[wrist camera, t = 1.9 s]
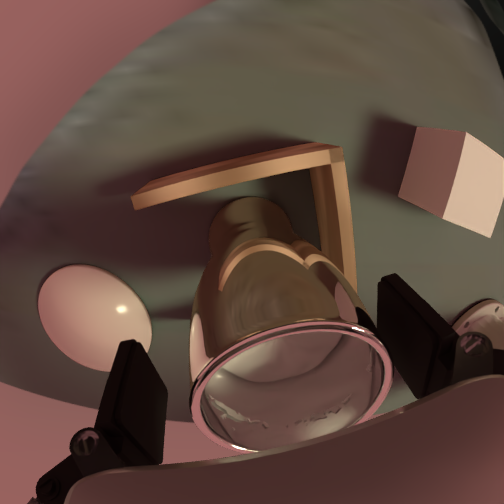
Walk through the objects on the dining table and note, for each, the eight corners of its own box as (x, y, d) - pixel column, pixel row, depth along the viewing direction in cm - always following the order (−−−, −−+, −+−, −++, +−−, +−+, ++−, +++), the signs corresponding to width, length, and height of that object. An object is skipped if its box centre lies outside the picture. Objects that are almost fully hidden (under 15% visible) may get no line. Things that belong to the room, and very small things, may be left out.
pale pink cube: (396, 196, 22) (441, 218, 17) (415, 126, 20) (465, 131, 15) (446, 214, 23) (490, 238, 18) (464, 152, 21) (512, 164, 16)
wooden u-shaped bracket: (315, 142, 20) (342, 147, 15) (335, 286, 25) (358, 321, 20) (150, 180, 20) (130, 196, 15) (196, 319, 25) (193, 360, 20)
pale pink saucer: (122, 249, 22) (120, 253, 21) (170, 359, 26) (170, 364, 25) (23, 279, 22) (19, 282, 21) (75, 371, 26) (74, 375, 25)
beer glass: (205, 282, 23) (198, 464, 10) (199, 192, 21) (161, 324, 7) (296, 278, 24) (371, 441, 10) (300, 189, 21) (426, 301, 7)
